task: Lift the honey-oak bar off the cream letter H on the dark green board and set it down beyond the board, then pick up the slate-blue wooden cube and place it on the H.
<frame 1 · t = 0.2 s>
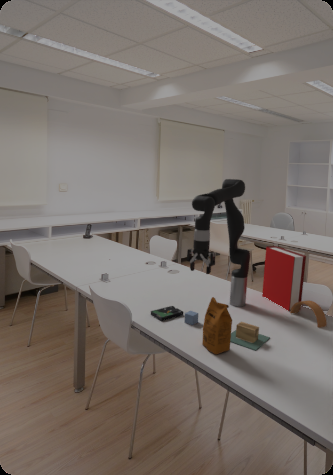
hand: (200, 272, 169), 29 cm above the table, fingers open, 8 cm apart
blue cube: (191, 322, 182), on the table
book: (279, 302, 215), on the table
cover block: (246, 337, 166), resting on letter board
arch: (307, 320, 191), on the table
letter board: (246, 338, 166), on the table
disk drive: (167, 316, 191), on the table
coffee package: (215, 348, 157), on the table
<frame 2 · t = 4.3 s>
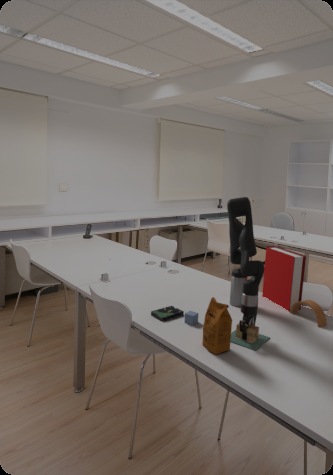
hand: (246, 337, 166), 1 cm above the table, fingers closed on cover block, 5 cm apart
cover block: (246, 337, 166), resting on letter board, touching gripper
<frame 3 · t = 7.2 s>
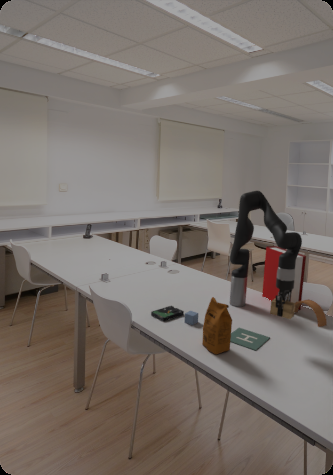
hand: (282, 314, 158), 15 cm above the table, fingers closed on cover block, 5 cm apart
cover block: (282, 314, 158), point 15 cm above the table, touching gripper
when the fingers open (2 cm above the table, at t = 10.0 s): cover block drops 2 cm, on the table.
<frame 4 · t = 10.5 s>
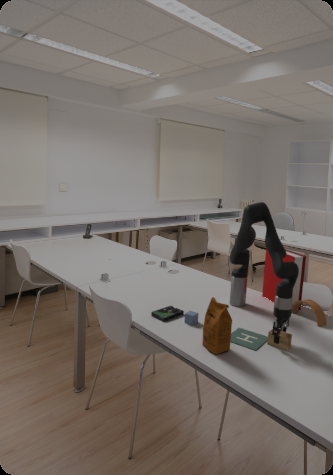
hand: (279, 339, 160), 3 cm above the table, fingers open, 8 cm apart
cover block: (279, 345, 161), on the table
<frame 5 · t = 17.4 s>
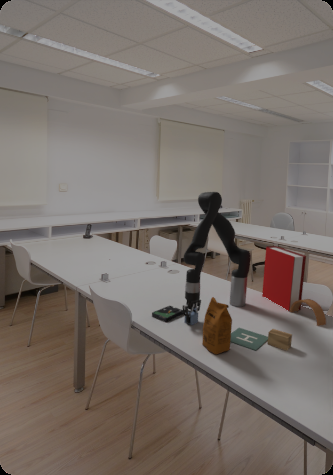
hand: (191, 321, 182), 0 cm above the table, fingers closed on blue cube, 5 cm apart
blue cube: (191, 322, 182), on the table, touching gripper
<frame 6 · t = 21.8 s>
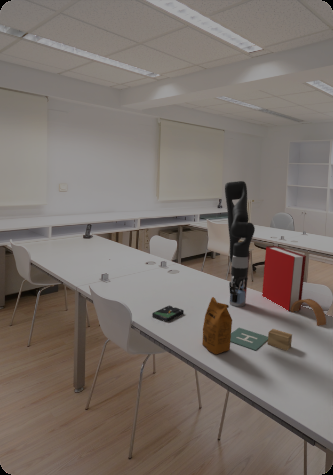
hand: (237, 300, 166), 18 cm above the table, fingers closed on blue cube, 5 cm apart
blue cube: (237, 301, 166), point 17 cm above the table, touching gripper
when the fingers open (2 cm above the table, at t = 26.7 s): blue cube stays where it is, resting on letter board.
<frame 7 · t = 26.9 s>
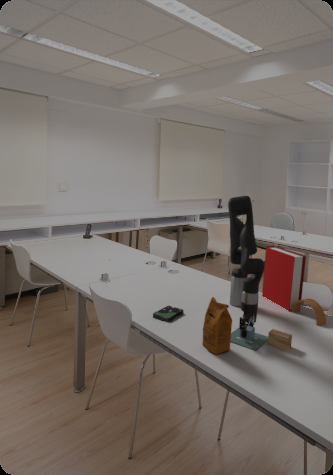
hand: (247, 334, 166), 2 cm above the table, fingers open, 6 cm apart
blue cube: (246, 337, 166), resting on letter board
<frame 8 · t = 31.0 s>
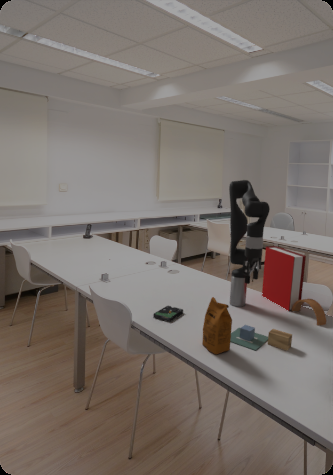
hand: (251, 281, 161), 28 cm above the table, fingers open, 8 cm apart
at the end: blue cube 0.1 cm off-centre on the letter board, point 0.4 cm above the letter board's base; the gripper is holding nothing; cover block touching table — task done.
